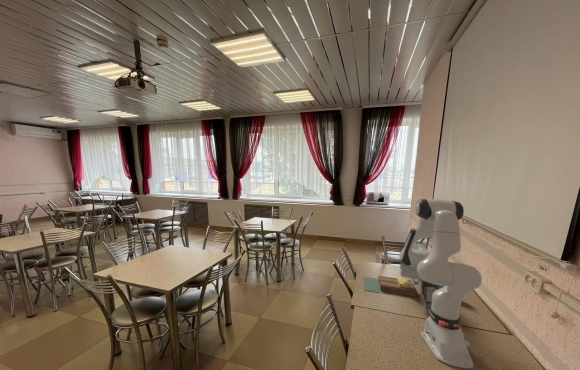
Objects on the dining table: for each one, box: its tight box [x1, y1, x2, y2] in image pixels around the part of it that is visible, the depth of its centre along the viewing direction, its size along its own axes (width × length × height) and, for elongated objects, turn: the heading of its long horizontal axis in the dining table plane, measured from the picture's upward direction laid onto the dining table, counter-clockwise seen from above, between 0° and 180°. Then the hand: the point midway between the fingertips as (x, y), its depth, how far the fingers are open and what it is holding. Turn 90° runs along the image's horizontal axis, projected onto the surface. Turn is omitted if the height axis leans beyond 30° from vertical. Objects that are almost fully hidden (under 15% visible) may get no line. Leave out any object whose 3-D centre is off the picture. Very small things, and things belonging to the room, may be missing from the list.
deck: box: [377, 275, 418, 298], centre depth 152 cm, size 14×22×4 cm, turn 74°
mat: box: [363, 275, 381, 294], centre depth 157 cm, size 20×10×1 cm, turn 164°
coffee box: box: [419, 279, 439, 315], centre depth 130 cm, size 9×6×16 cm
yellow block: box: [396, 277, 410, 288], centre depth 151 cm, size 9×6×2 cm, turn 164°
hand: (415, 284), depth 149 cm, fingers closed
